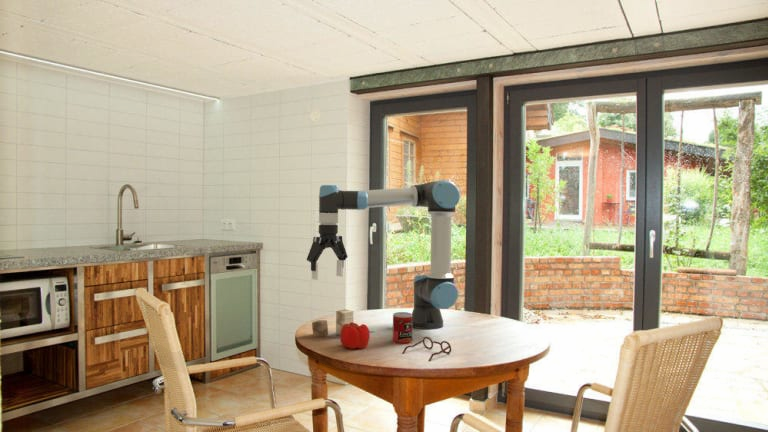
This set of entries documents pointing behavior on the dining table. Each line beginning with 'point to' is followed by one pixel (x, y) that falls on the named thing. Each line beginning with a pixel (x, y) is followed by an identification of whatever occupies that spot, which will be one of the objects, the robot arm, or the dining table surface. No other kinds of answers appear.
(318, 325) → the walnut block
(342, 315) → the birch block
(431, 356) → the glasses
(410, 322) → the canned food
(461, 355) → the dining table surface
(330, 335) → the rubber mat
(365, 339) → the tomato
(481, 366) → the dining table surface
